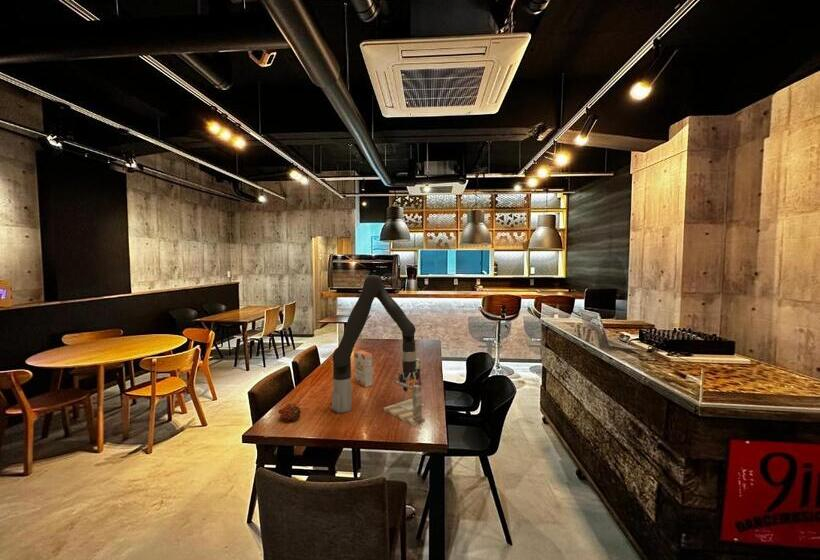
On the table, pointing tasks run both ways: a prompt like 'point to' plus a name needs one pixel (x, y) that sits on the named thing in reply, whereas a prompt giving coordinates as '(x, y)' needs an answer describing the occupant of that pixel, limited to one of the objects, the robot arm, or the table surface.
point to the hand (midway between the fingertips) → (409, 389)
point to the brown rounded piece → (290, 412)
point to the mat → (407, 404)
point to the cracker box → (363, 368)
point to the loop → (411, 384)
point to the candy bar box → (418, 368)
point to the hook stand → (404, 414)
